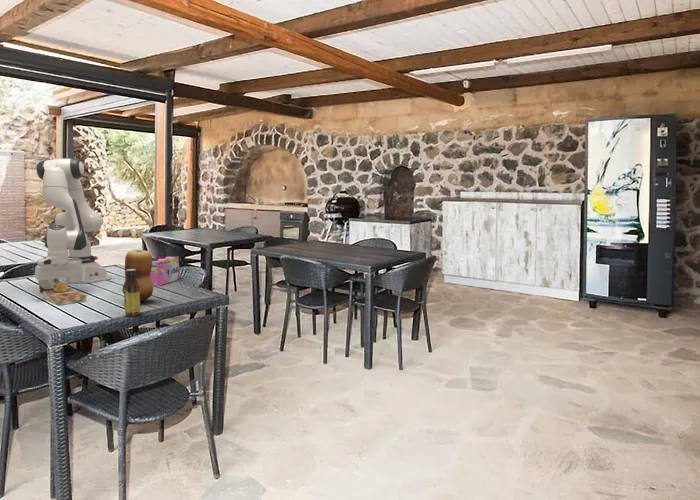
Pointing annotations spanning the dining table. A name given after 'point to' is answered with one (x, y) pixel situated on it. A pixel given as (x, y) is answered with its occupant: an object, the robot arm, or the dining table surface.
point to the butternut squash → (140, 271)
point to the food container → (46, 285)
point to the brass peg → (60, 287)
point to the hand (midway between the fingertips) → (60, 287)
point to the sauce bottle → (131, 294)
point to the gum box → (164, 270)
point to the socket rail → (64, 297)
